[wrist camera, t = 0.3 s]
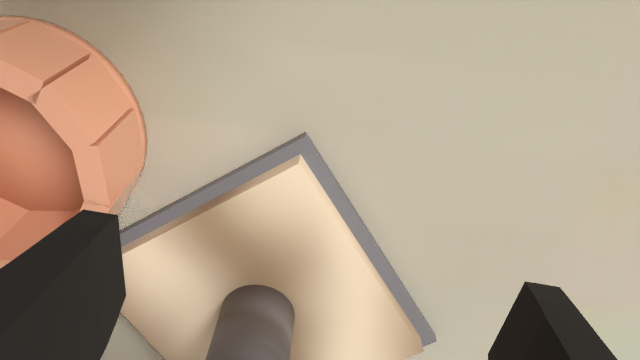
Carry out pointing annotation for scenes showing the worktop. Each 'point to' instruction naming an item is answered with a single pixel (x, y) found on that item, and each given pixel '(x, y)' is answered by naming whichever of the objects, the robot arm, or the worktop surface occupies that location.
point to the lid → (263, 280)
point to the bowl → (61, 132)
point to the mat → (331, 188)
